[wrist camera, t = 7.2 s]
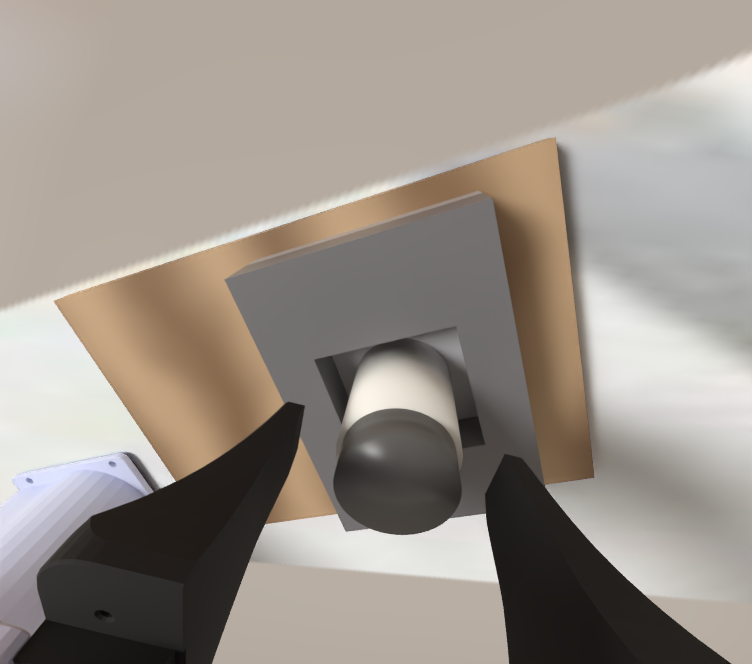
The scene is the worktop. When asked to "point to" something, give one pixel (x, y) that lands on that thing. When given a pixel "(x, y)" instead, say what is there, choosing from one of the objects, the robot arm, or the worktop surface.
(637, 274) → the worktop surface
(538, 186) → the board
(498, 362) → the grey square frame plate
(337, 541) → the worktop surface
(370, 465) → the cylinder
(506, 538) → the robot arm
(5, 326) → the worktop surface
